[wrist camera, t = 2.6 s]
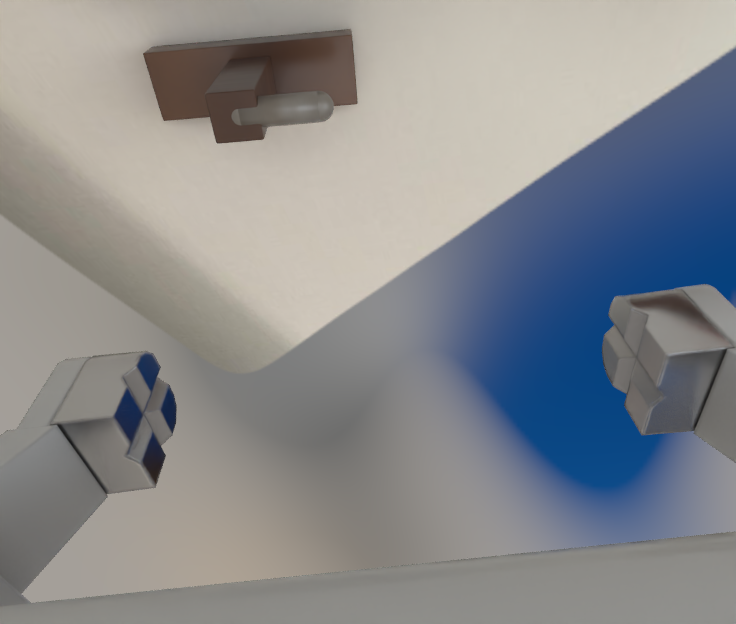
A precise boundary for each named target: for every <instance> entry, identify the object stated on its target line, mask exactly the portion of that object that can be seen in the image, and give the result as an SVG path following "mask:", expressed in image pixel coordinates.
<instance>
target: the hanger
mask: <svg viewBox="0 0 736 624" xmlns="http://www.w3.org/2000/svg"><path fill="white" fill-rule="evenodd" d="M143 55H144V58H145V61H146V65H147V68H148V71H149V75H150V78H151V81H152V84H153V88H154V91H155V94H156V98H157V101H158V104H159V108H160V111H161V114H162V117H163V120H164V121H168V120H179V119H191V118H202V117H210V119H211V123H212V127H213V131H214V135H215V139H216V142H217V143H229V142H241V141H252V140H263V139H264V137H265V134H266V131H267V128H268V127H270V126H282V125H293V124H305V123H316V122H324V121H326V120H328V119H329V118H330V117H331V115H332V113H333V110H334V106H340V105H351V104H357V91H356V79H355V67H354V54H353V42H352V31H351V30H350V29H349V30H338V31H326V32H315V33H304V34H293V35H281V36H270V37H259V38H247V39H236V40H225V41H214V42H202V43H191V44H180V45H168V46H157V47H151V48H150V49H149V50H147V51H146V52H145V53H143Z"/></svg>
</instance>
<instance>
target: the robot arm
mask: <svg viewBox="0 0 736 624" xmlns="http://www.w3.org/2000/svg"><path fill="white" fill-rule="evenodd" d="M609 317H610V318H611V320H612V322H613V323H614V326H613V327H612V328H611V329H610V330H609V331H608V332H607V333H606V334H605V335H604V340H603V346H602V355H603V364H604V367H605V370H606V373H607V376H608V378H609V380H610V381H611V383H612V385H613V386H614V387H616V388H617V389H619V390H621V391H622V392H624V393H626V394H627V396H626V400H625V404H624V406H625V408H626V409H627V411H628V413H629V414H630V416H631V418H632V419H633V421H634V423H635V425H636V426H637V428H638V430H639V431H640V433H641V434H642V435H649V434H661V433H673V432H686V431H694V434H695V435H697V436H698V437H700V438H701V439H702V440H704V441H705V442H707V443H708V444H709V445H711V446H712V447H714V448H715V449H716V450H718V451H719V452H721V453H722V454H724V455H725V456H727V457H728V458H729V459H731V460H732V461H734V462H735V463H736V309H735V307H734V306H733V305H732V304H731V303H730V302H728V300H726V299H725V298H724V297H723V296H722V295H721V294H720V293H719V292H718V291H717V290H716V289H715V288H714V287H712V286H710V285H707V284H702V285H696V286H688V287H681V288H675V289H674V290H664V291H656V292H648V293H640V294H631V295H624V296H616V297H615V298H614V300H613V301H612V303H611V306H610V311H609ZM159 370H160V365H159V364H158V361H157V359H156V358H155V356H154V354H153V353H150V352H148V351H141V352H130V353H119V354H109V355H99V356H92V357H82V358H72V359H65V360H63V361H61V362H60V363H58V364H57V366H56V367H55V369H54V370H53V372H52V373H51V375H50V377H49V378H48V380H47V382H46V383H45V384H44V386H43V388H42V389H41V391H40V393H39V394H38V396H37V397H36V399H35V400H34V402H33V404H32V405H31V407H30V408H29V410H28V412H27V413H26V415H25V417H24V418H23V420H22V421H21V423H20V424H19V426H18V427H17V429H15V430H7V431H6V432H4V433H3V434H1V435H0V624H736V532H726V533H716V534H706V535H696V536H687V537H677V538H667V539H658V540H648V541H637V542H628V543H618V544H609V545H599V546H589V547H579V548H569V549H559V550H550V551H541V552H530V553H521V554H511V555H501V556H491V557H482V558H471V559H461V560H451V561H442V562H432V563H422V564H412V565H402V566H392V567H382V568H373V569H362V570H353V571H343V572H334V573H323V574H313V575H303V576H293V577H283V578H273V579H264V580H253V581H244V582H234V583H224V584H214V585H204V586H194V587H184V588H175V589H164V590H155V591H145V592H135V593H125V594H116V595H106V596H96V597H86V598H75V599H67V600H56V601H46V602H36V603H31V602H30V601H28V600H27V599H26V598H25V597H24V596H23V595H22V593H23V591H24V590H25V589H26V588H27V587H28V586H29V585H30V584H31V582H32V581H33V580H34V579H35V578H36V577H37V576H38V575H39V573H40V572H41V571H42V570H43V569H44V568H45V567H46V566H47V564H48V563H49V562H50V561H51V560H52V559H53V558H54V557H55V555H56V554H57V553H58V552H59V551H60V550H61V549H62V547H63V546H64V545H65V544H66V543H67V542H68V541H69V540H70V538H71V537H72V536H73V535H74V534H75V533H76V532H77V531H78V530H79V528H80V527H81V526H82V525H83V524H84V523H85V522H86V521H87V519H88V518H89V517H90V516H91V515H92V514H93V513H94V512H95V510H96V509H97V508H98V507H99V506H100V505H101V504H102V503H103V501H104V500H105V499H106V498H107V494H111V493H119V492H126V491H134V490H141V489H149V488H155V487H156V484H157V481H158V478H159V475H160V472H161V469H162V466H163V463H164V460H165V456H166V455H165V453H164V452H163V450H162V448H161V445H162V444H164V443H165V442H166V440H168V439H169V438H170V437H171V436H172V434H173V431H174V428H175V424H176V402H175V398H174V394H173V392H172V390H171V388H170V385H169V384H167V383H165V382H164V381H162V380H160V379H159V378H157V375H158V373H159Z"/></svg>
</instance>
